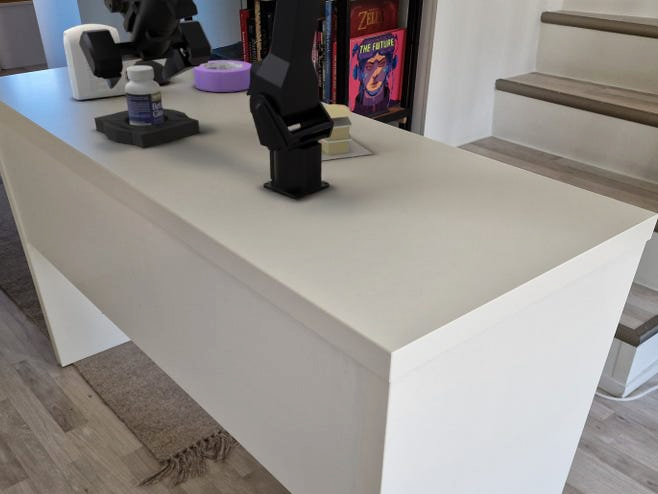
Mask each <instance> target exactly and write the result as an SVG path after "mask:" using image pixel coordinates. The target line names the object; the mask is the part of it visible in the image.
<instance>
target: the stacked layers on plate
mask: <svg viewBox="0 0 658 494" xmlns="http://www.w3.org/2000/svg"><path fill="white" fill-rule="evenodd" d="M323 106H324V107H325V109H326V111H327V112H328V114H329V115H330V117H331V118H332V120H333V122H334V127H333V130H332V134H331V137H329V138H324V139H321V140H319V141H318V142H319V143H322V161H328V160H337V159H345V158H352V157H360V156H367V155H373V152H371V151H370V150H368V149H367V148H365V147H363V146H362V145H361V144H359V143H358V142H356V141H355V140H353V139H352V138H353V137H352V136H351V134H350V128H352V127H353V123H352V121H351V119H350V117H353V114H352V111H351V110H350V108H349V107H348V106H346V105H345V104H336V103H332V104H327V105H323Z"/></svg>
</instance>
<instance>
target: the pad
mask: <svg viewBox="0 0 658 494" xmlns="http://www.w3.org/2000/svg"><path fill="white" fill-rule="evenodd" d="M162 109H163V117H164V123H160V124H156V125H147V126H137V125H130V120H129V112H128V109H126V110H123V111H117V112H115V113H110V114H106V115H101V116H97V117H94V123H95V130H96V131H97V132H99V133H102V134H105V136H106V138H107V139H108V140H111V141H113V142H116V143H119V144H120V143H122V144H127V145H134V146H137V147H139V148H141V149H144V148H149V147H151V146H155V145H160V144H163V143H169V142H172V141H176V140H180V139H181V138H186V137H189V136H193V135H196V134H200V133H201V132H200V122H199V119H197V118H196V119H195V118H192V117H189V116H188V115H187V114H186V112H184V111H183V112H182V111H180V110H177V109H172V108H171V109H170V108H164V107H162Z"/></svg>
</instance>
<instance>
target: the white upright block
mask: <svg viewBox="0 0 658 494" xmlns="http://www.w3.org/2000/svg"><path fill="white" fill-rule="evenodd" d="M99 29H107V30H109V31H110V33H111V35H112V37H113V39H114V42H115V43H121V38H120V34H119V32H118V29H117V28H116V27H114V26H110V25H107V24H100V23H84V24H80V25H76V26H73V27H70V28H68V29H66V30H64V31H63V34H62V35H63V36H62V37H63V49H64V53H65V59H66V60H65V61H66V64H67V70H68V77H69V81H70V87H71V93H72V97H73V99H74V100H77V101H83V100H90V99H98V98H108V97H109V98H110V97H115V96H117V97H118V96H126V92H125V86H126V84H127V81H126V80H127V79H126V71H125V66H124V65H125V64H124V61H122V63H123V70H122V72H121V74H122V77H121V79H120V80H119V81H118V83H117V84H116V86H115V87H114V88H113V89H110V88H109V86H108V84H107V80H106V79H103V78H98V77H96V76H94V75H93V73H92V71H91V69H90V66H89V64H88V62H87V60H86V58H85V56H84V53H83V51H82V49H81V47H80V45H79V41H80V36H81V34H82V32H83V31H89V30H99Z"/></svg>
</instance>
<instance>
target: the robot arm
mask: <svg viewBox="0 0 658 494" xmlns="http://www.w3.org/2000/svg"><path fill="white" fill-rule="evenodd" d="M321 2H322V0H276V4H275V12H274V21H273V29H272V37H271V43H270V44H271V45H270V49H269V52H268V54H267V56H266V57H265V58H263V59H259V60H255V61H252V62H251V63H250V64H251V68H250V84H249V89H247V90H246V94H245V95H246V97H248V96H249V100H248V101H249V111H250V113H251V116H252V119H253V123H254V127H255V130H256V133H257V138H258V141H259V144H260V146H263V147H265V148H267V150H268V151H269V176H270V177H269V178H270V180H269V181H266V182H263V186H262V187H263V188H264V189H266V190H269V191H271V192H275V193H277V194H280V195H282V196H285V197H288V198H290V199H294V200H300V199H303V198H305V197H309V196H310V195H314V194H316V193H318V192H322V191H323V190H326V189H329V188H330V182H327V181H324V180H322V176H323V175H322V171H323V170H322V169H323V167H322V165H323V164H322V163H323V162H322V161H323V160H322V143H319V142H318V141H319V140H321V139H324V138H329V137H331V134H332V130H333V127H334V122H333V120H332V118H331V117H330V115H329V114H328V112H327V111H326V109H325V107H324V106H325V105H324V103H322V101H321V99H320V97H319V86H320V85H319V82H320V80H319V76H318V73H317V70H316V67H315V64H314V60H313V50H314V44H315V38H316V33H317V32H316V31H317V26H318V19H319V14H320V8H321ZM103 4H104V6H105V7H106V8H107V10H108V11H109V13H111V14H118V13H119V14H120V16H121V17H122V18H123V23H122V27H123V29H124V31H125V33H129V35H130V36H129V41H122V42H121V41H120V43H115V42H114V39H113V37H112V35H111V33H110V31H109V30H107V29H99V30H89V31H83V32H82V34H81V36H80V41H79V45H80V47H81V49H82V51H83V53H84V56H85V58H86V60H87V62H88V64H89V66H90V69H91V71H92V73H93V75H94V76H96V77H98V78H103V79H106V80H107V84H108V86H109V88H110V89H113V88H114V87H115V86H116V84H117V83H118V81H119V80H120V79H121V77H122V74H121V72H122V70H123V65H124V62H128V61H138V60H141V59H142V61H143V62H144V61H158V60H165V61H164V65H163V66H164V67H163V72H162V77H163V79H164V81H167V80H169V79H171V80H172V79H173V78H175V77H177V76H179V75H181V74H183V73H185V72H187V71H190V70H193V68H194V67H198V66H200V65H201V64H205V63H208V61H210V59H211V57H212V55H213V47H212V44H211V42H210V39H209V38H208V35H207V34H206V33H207V32H206V31H205V29H204V27H203V25H202V23H201V22H200V21H199V20H197V19H196V20H195V19H192V20H183V19H187V18H190V17H191V18H192V17H195V16H198V14H199V11H198V7H197V5H196V2H195V1H194V0H103ZM182 20H183V21H182ZM122 61H123V63H122ZM169 81H170V80H169ZM167 82H168V81H167ZM296 125H299V127H296V128H292V129H289V128H290V127H293V126H296Z"/></svg>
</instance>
